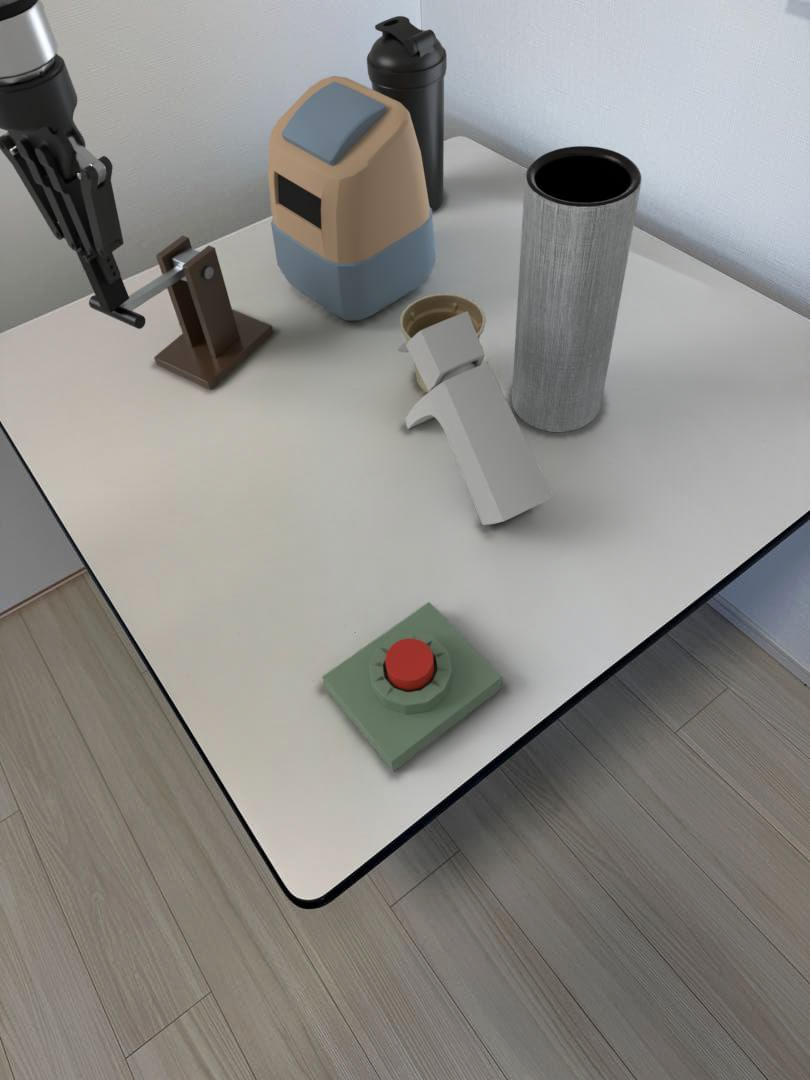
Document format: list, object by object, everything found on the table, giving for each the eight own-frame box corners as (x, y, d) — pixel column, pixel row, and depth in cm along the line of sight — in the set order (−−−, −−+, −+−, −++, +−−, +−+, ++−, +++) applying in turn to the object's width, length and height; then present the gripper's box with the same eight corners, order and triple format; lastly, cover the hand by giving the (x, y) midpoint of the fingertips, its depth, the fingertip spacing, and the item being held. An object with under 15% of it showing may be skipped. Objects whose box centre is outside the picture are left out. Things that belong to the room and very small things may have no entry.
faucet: (502, 522, 77) (414, 324, 75) (448, 530, 92) (374, 367, 91) (557, 495, 78) (472, 301, 77) (494, 508, 94) (423, 347, 92)
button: (406, 699, 68) (405, 689, 66) (377, 666, 70) (375, 656, 68) (443, 671, 69) (443, 661, 68) (414, 640, 71) (413, 629, 70)
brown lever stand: (210, 390, 97) (177, 292, 86) (156, 364, 101) (118, 268, 90) (273, 333, 103) (250, 235, 92) (220, 311, 106) (192, 213, 95)
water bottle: (417, 174, 124) (409, 3, 105) (463, 199, 119) (463, 25, 100) (365, 200, 120) (347, 28, 102) (410, 228, 115) (399, 53, 97)
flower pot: (501, 377, 96) (503, 317, 89) (445, 419, 92) (443, 360, 85) (443, 342, 100) (441, 282, 93) (387, 381, 96) (381, 322, 89)
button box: (393, 772, 68) (389, 753, 64) (325, 688, 73) (318, 666, 70) (501, 688, 72) (503, 667, 68) (429, 614, 77) (428, 590, 73)
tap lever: (138, 335, 85) (132, 315, 84) (92, 314, 88) (85, 295, 86) (223, 278, 93) (219, 259, 91) (178, 260, 95) (173, 241, 93)
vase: (615, 390, 93) (660, 160, 71) (576, 446, 88) (611, 217, 67) (537, 361, 97) (557, 134, 75) (495, 413, 92) (504, 187, 70)
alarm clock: (271, 285, 109) (231, 107, 91) (366, 232, 115) (347, 55, 97) (351, 341, 101) (325, 159, 83) (448, 281, 107) (445, 99, 89)
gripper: (104, 60, 66) (185, 302, 85) (0, 31, 71) (98, 266, 90) (32, 100, 63) (133, 343, 81) (-72, 67, 67) (46, 304, 86)
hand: (115, 303), depth 86 cm, fingers closed
